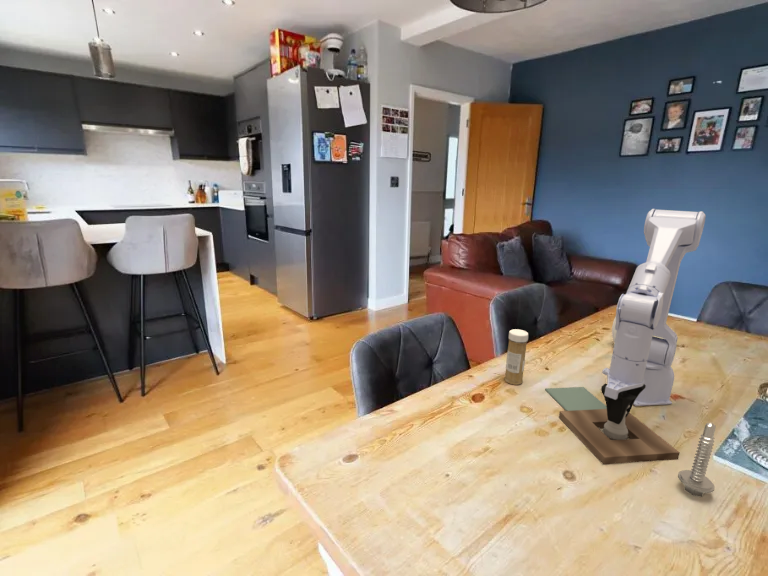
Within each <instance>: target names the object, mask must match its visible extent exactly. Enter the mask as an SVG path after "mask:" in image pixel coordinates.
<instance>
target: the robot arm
mask: <svg viewBox="0 0 768 576" xmlns="http://www.w3.org/2000/svg"><path fill="white" fill-rule="evenodd" d="M706 216H707V215H706V214H705V213H704V211H688V210H671V209H670V210H669V209H668V210H667V209H656V208H651V210H649V211H648V212H647V213H646V217H645V221H644V227H643V235H644V239H645V241H646V244H647V246H648V247H649V250H648V253H647V258H646V261H645V262H643V263H641V264H639V265H638V266H636V268H635V272H634V274H633V276H632V279H631V281H630V282H629V283H630V284H629V286H628V288H627V290H626V293H625V294H624V293H622V294H621V295H620V297H619V298H618V302H617V304H616V310H615V316H616V325H615V330H617V332H616V337H615V342H614V343H613V344H614V345H613V349H612V355H611V360H610V366H609V368H608V367H604V368H603V369H602V371H601V373H602V374H603V375H605V376H606V379H607V380H606V381H607V383H604V384H603V385H601V393H602V395H603V397H604V400H605V405H606V407H607V417H608V420H609V421H611V422H614V423H616V424H620V423H621V421H622V420H623V417H624V415H625V412H626V411H627V414H626V416H625V417H627V415H628V414H629V413H631V410H632V408H633V406H635V407H639V406H657V405H658V406H660V405H672V404H673V402H672V401H671V400H670V399H671V394H672V390H673V386H674V381H675V372H674V369H673V368H672V365H673V362H674V359H675V356H676V355H675V354H676V351H677V344H678V343H677V342H678V339H679V338H678V335H677V333H676V331H674V330H673V329H672V328H671V327H670V326H669V325H668V324H667V321H668V316H669V313H670V308H671V304H672V299H673V295H674V291H675V287H676V283H677V280H678V279H677V278H678V274H679V270H680V267H681V263H682V260H683V259H684V256H685V255H686V254H687V253H692V252H695V251H697V249H698V248H699V246H700V242H701V238H702V235H703V232H704V227H705V223H706V218H707V217H706ZM629 405H630V407H629V408H628V406H629ZM627 408H628V409H627Z"/></svg>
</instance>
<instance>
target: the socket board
mask: <svg viewBox="0 0 768 576" xmlns="http://www.w3.org/2000/svg"><path fill="white" fill-rule="evenodd" d="M558 418H559V419H560V420H561V421H562V422H563V424H565V425H566V426H567V428H568V429H569V430H570V431H571V432H572V433H573V434H574V435H575V436H576V437H577V438H578V440H580V441H581V442H582V443H583V445H584V446H585V447H586V448H587V449H588V450H589V451H590V453H592V454H593V455H594V457H596V459H598V461H599V462H600V463H601V464H602V465H615V464H618V465H619V464H629V463H630V464H631V463H644V462H647V463H648V462H658V461H677V460H679V457H680V451H678V450H677V449H676V447H673V445H671V444H670V443H668V441H666V440H665V439H663V438H662V437H661V436H660V435H658V434H657V433H656V432H655V431H653V430H652V429H651V428H649V427H648V426H647V425H645V423H643V422H642V421H641V420H640V419H638V418H637V417H635V416H634V415H633V414H632V413H631V412H629V414H628V415H627V417H625V425H626V427H627V429H628V434H627V435H628V438H627V439H626V440H613V439H610V438H608V437H607V436H606V435H605V434H604V432H603V430H601V429H603V428H604V424H605V423H606V422H607V421H608V417H607V409H593V410H573V411H566V410H560V411H559V413H558Z"/></svg>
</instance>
